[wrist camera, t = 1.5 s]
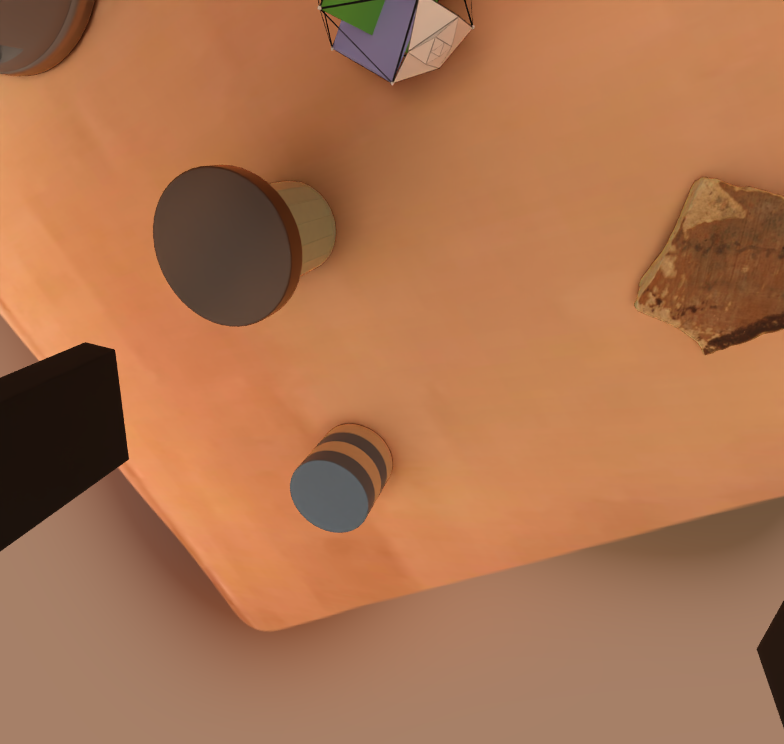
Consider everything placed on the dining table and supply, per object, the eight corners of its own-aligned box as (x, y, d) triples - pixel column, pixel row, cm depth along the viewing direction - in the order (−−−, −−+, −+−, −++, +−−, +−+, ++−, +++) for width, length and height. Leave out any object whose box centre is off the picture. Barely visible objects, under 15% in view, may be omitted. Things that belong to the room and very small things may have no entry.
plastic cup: (241, 233, 34) (171, 252, 28) (282, 160, 31) (215, 165, 25) (306, 289, 34) (250, 319, 28) (353, 221, 31) (301, 239, 26)
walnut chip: (147, 255, 29) (131, 259, 27) (207, 129, 25) (190, 129, 24) (257, 348, 29) (244, 356, 28) (331, 236, 25) (320, 240, 24)
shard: (950, 253, 23) (976, 261, 22) (833, 398, 27) (848, 414, 25) (700, 168, 25) (708, 169, 24) (620, 315, 29) (622, 325, 27)
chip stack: (308, 455, 39) (275, 493, 34) (348, 408, 36) (317, 444, 32) (364, 502, 39) (338, 546, 34) (408, 459, 36) (385, 502, 32)
